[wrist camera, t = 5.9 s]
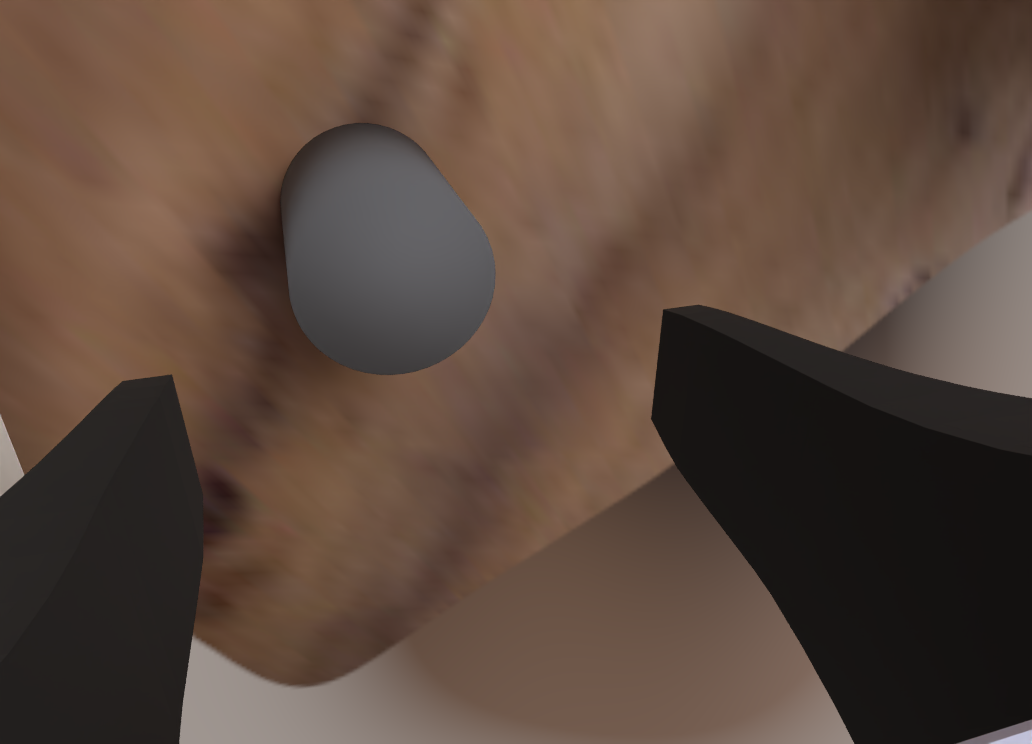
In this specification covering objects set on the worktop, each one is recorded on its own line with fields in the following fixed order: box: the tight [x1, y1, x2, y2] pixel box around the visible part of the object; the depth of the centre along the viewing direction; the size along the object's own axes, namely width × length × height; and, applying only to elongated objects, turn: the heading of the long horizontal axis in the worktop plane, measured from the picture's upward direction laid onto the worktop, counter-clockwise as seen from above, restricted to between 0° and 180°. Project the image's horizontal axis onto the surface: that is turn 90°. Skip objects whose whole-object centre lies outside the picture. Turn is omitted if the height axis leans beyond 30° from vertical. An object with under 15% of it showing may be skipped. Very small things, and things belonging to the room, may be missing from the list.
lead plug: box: [280, 123, 495, 375], centre depth 17 cm, size 4×4×5 cm
